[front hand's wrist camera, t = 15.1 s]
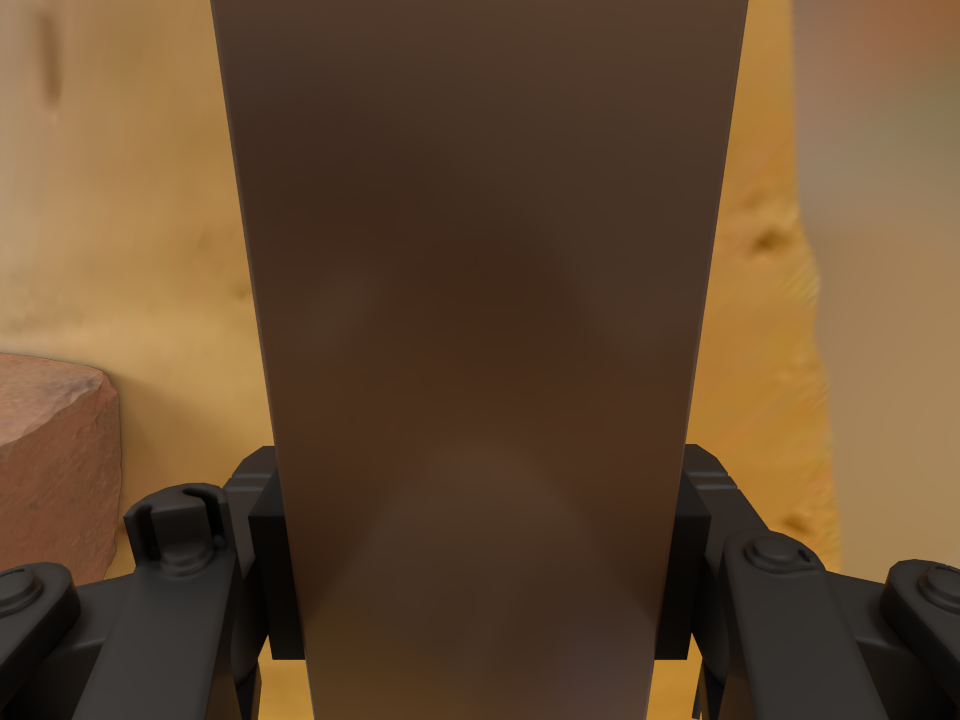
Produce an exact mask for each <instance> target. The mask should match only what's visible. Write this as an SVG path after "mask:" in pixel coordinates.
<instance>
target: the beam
mask: <svg viewBox="0 0 960 720" xmlns="http://www.w3.org/2000/svg"><path fill="white" fill-rule="evenodd" d="M210 2H211V9H212V16H213V23H214V29H215V36H216V43H217V50H218V57H219V64H220V71H221V78H222V85H223V92H224V99H225V106H226V112H227V119H228V126H229V133H230V140H231V147H232V154H233V161H234V168H235V175H236V182H237V189H238V195H239V202H240V209H241V216H242V223H243V230H244V237H245V244H246V251H247V258H248V265H249V272H250V279H251V285H252V292H253V299H254V306H255V313H256V320H257V327H258V334H259V341H260V348H261V355H262V362H263V368H264V375H265V382H266V389H267V396H268V403H269V410H270V417H271V424H272V431H273V438H274V445H275V451H276V458H277V465H278V472H279V479H280V486H281V493H282V500H283V507H284V514H285V521H286V528H287V534H288V541H289V548H290V555H291V562H292V569H293V576H294V583H295V590H296V597H297V604H298V611H299V617H300V624H301V631H302V638H303V645H304V652H305V659H306V666H307V673H308V680H309V687H310V694H311V701H312V707H313V714H314V720H646V716H647V709H648V702H649V695H650V688H651V681H652V674H653V667H654V660H655V653H656V646H657V639H658V632H659V625H660V618H661V611H662V604H663V597H664V589H665V582H666V575H667V568H668V561H669V554H670V547H671V540H672V533H673V526H674V519H675V512H676V505H677V498H678V491H679V484H680V477H681V470H682V463H683V456H684V449H685V442H686V435H687V428H688V421H689V414H690V407H691V400H692V393H693V386H694V379H695V372H696V365H697V358H698V351H699V344H700V337H701V330H702V323H703V316H704V309H705V302H706V295H707V288H708V281H709V274H710V267H711V260H712V253H713V246H714V239H715V232H716V224H717V217H718V210H719V203H720V196H721V189H722V182H723V175H724V168H725V161H726V154H727V147H728V140H729V133H730V126H731V119H732V112H733V105H734V98H735V91H736V84H737V77H738V70H739V63H740V56H741V49H742V42H743V35H744V28H745V21H746V14H747V7H748V0H210Z"/></svg>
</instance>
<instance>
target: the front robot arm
mask: <svg viewBox="0 0 960 720" xmlns="http://www.w3.org/2000/svg"><path fill="white" fill-rule="evenodd" d="M222 489H223V490H222ZM222 489H221V488H220V487H219V486H216V485H211V484H207V483H186V484H182V485H177V486H173V487H168V488H165V489H163V490H160V491H158V492H155V493H153V494H150V495H148V496H146V497H145V498H143V499H142V500H140V501H139V502H137V503H136V504H134V505H133V506H132V507H131V508H130V509H129V511H128V512H127V513H126V514H125V515H124V516H123V519H124V522H125V526H126V530H127V533H128V537H129V541H130V545H131V548H132V552H133V556H134V559H135V563H136V568H135V570H134V573H132V574H128V575H125V576H121V577H117V578H112V579H108V580H103V581H98V582H94V583H89V584H84V585H80V586H75V584H74V581H73V578H72V575H71V572H70V570H68V569H67V568H66V567H65V566H63V565H62V564H58V563H51V562H40V563H32V564H25V565H21V566H17V567H15V568H10V569H8V570H5V571H2V572H0V720H258V713H259V703H260V694H261V684H262V681H261V675H260V669H259V663H258V657H259V654H260V652H261V650H262V647H263V645H264V642H265V640H266V638H267V635H268V636H269V641H270V647H271V653H272V659H273V660H306V659H305V652H304V645H303V638H302V631H301V624H300V617H299V611H298V604H297V597H296V590H295V583H294V576H293V569H292V562H291V555H290V548H289V541H288V534H287V528H286V521H285V514H284V507H283V500H282V493H281V486H280V479H279V472H278V465H277V458H276V451H275V446H263V447H261V448H260V449H258V450H257V451H255V452H254V453H252V454H251V455H249V456H248V457H246V458H245V459H243V461H242V462H241V463H240V465H239V466H238V467H237V469H236V470H235V472H234V473H233V474H232V478H229V480H228V481H227V483H226V484H225V485H224V487H223V488H222ZM691 633H692V634H693V636H694V638H695V641H696V643H697V645H698V648H699V650H700V652H701V655H702V657H703V658H702V663H701V669H700V674H699V679H698V685H697V690H696V695H695V701H694V706H693V713H692V718H694V719H698V720H699V719H700V714H701V712H702V720H960V569H957V568H954V567H952V566H947V565H945V564H942V563H937V562H933V561H925V560H917V559H912V560H905V561H899V562H897V563H896V564H895V565H894V566H892V567H891V568H890V570H889V573H888V576H887V579H886V582H885V584H882V583H877V582H873V581H868V580H864V579H859V578H854V577H850V576H845V575H840V574H837V573H833V572H830V571H826V569H825V567H824V565H823V563H822V562H821V561H820V559H819V558H818V556H817V555H816V554H815V553H814V552H813V551H812V550H810V549H809V548H808V547H806V546H805V545H804V544H802V543H801V542H799V541H797V540H795V539H793V538H791V537H789V536H787V535H784V534H782V533H778V532H774V531H770V530H769V529H768V527H767V526H766V525H765V523H764V522H763V520H762V519H761V518H760V516H759V515H758V514H757V512H756V511H755V510H754V508H753V507H752V505H751V504H750V503H749V501H748V500H747V499H746V497H745V496H744V495H743V493H742V492H741V490H740V489H737V485H736V484H735V482H734V481H733V480H732V478H731V477H730V476H728V473H727V471H726V470H725V469H724V467H723V466H722V465H721V463H720V462H719V460H718V459H717V458H716V457H715V456H713V455H712V454H710V453H709V452H707V451H706V450H704V449H703V448H701V447H700V446H698V445H697V444H685V449H684V456H683V463H682V470H681V477H680V484H679V491H678V498H677V505H676V512H675V519H674V526H673V533H672V540H671V547H670V554H669V561H668V568H667V575H666V582H665V589H664V597H663V604H662V611H661V618H660V625H659V632H658V639H657V646H656V653H655V660H687V656H688V650H689V645H690V639H691Z"/></svg>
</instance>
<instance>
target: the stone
mask: <svg viewBox="0 0 960 720" xmlns="http://www.w3.org/2000/svg"><path fill="white" fill-rule="evenodd" d="M119 406H120V399H119V395H118V392H117V391H116V390H115V389H114V388H113V387H112V385H111V383H110V381H109V378H108V376H107V375H106V374H105V373H104V372H103V371H100V370H98V369H95V368H92V367H89V366H85V365H81V364H72V363H65V362H59V361H54V360H50V359H45V358H37V357H31V356H25V355H15V354H6V353H0V572H2V571H5V570H8V569H10V568H15V567H17V566H21V565H25V564H32V563H40V562H51V563H58V564H62V565H63V566H65V567H66V568H67V569H68V570H70V572H71V575H72V578H73V581H74V584H75V586H80V585H84V584H89V583H94V582H98V581H103V578H104V576H105V573H106V570H107V568H108V567H109V566H110V564H111V563H112V561H113V559H114V557H115V554H116V551H117V549H116V546H115V544H114V540H115V531H116V526H117V522H118V504H119V496H120V490H121V484H122V474H121V468H120V462H121V444H120V417H119Z"/></svg>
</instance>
